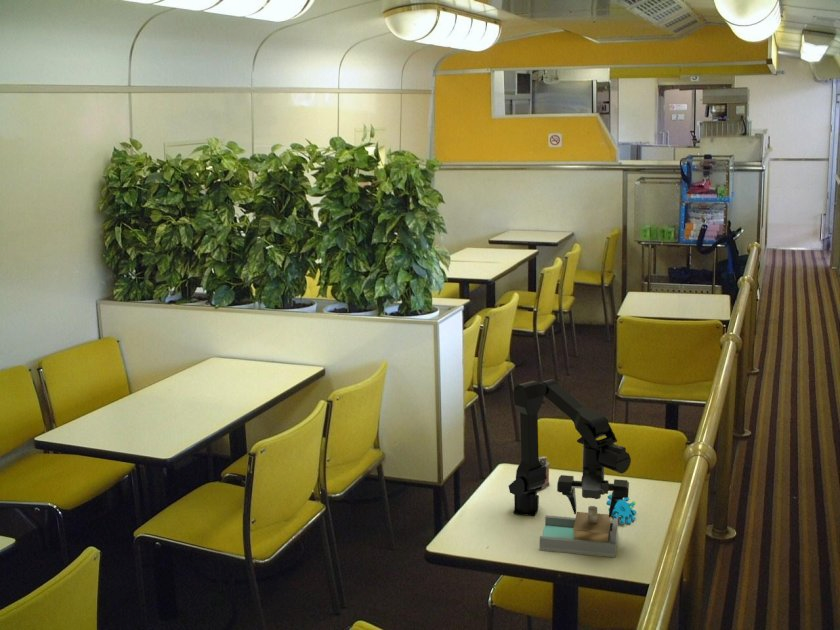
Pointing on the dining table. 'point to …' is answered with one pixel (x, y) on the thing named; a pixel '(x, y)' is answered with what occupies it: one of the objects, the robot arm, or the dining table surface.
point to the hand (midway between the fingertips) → (592, 515)
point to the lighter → (546, 464)
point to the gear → (623, 510)
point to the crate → (592, 526)
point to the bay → (562, 539)
